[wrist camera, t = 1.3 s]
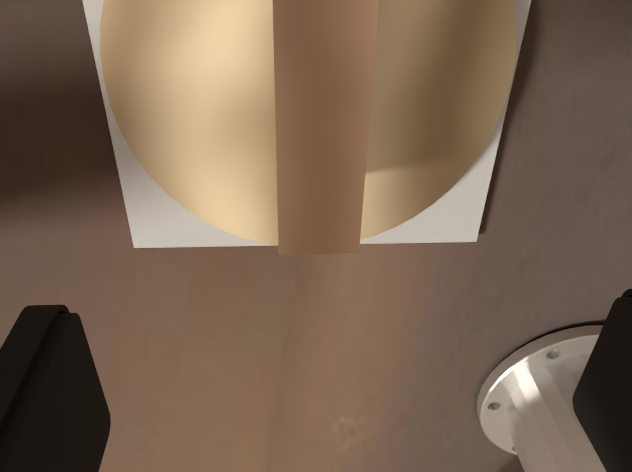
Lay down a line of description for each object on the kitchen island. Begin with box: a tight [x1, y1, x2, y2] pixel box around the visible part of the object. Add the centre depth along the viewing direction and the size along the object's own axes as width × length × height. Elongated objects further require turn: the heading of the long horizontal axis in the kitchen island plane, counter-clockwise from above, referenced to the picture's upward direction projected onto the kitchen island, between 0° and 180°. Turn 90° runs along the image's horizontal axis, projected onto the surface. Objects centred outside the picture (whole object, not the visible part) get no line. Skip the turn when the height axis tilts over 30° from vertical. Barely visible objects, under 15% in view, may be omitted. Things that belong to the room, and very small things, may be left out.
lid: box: [100, 0, 516, 255], centre depth 20 cm, size 17×17×7 cm
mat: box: [83, 0, 531, 248], centre depth 24 cm, size 18×18×1 cm
